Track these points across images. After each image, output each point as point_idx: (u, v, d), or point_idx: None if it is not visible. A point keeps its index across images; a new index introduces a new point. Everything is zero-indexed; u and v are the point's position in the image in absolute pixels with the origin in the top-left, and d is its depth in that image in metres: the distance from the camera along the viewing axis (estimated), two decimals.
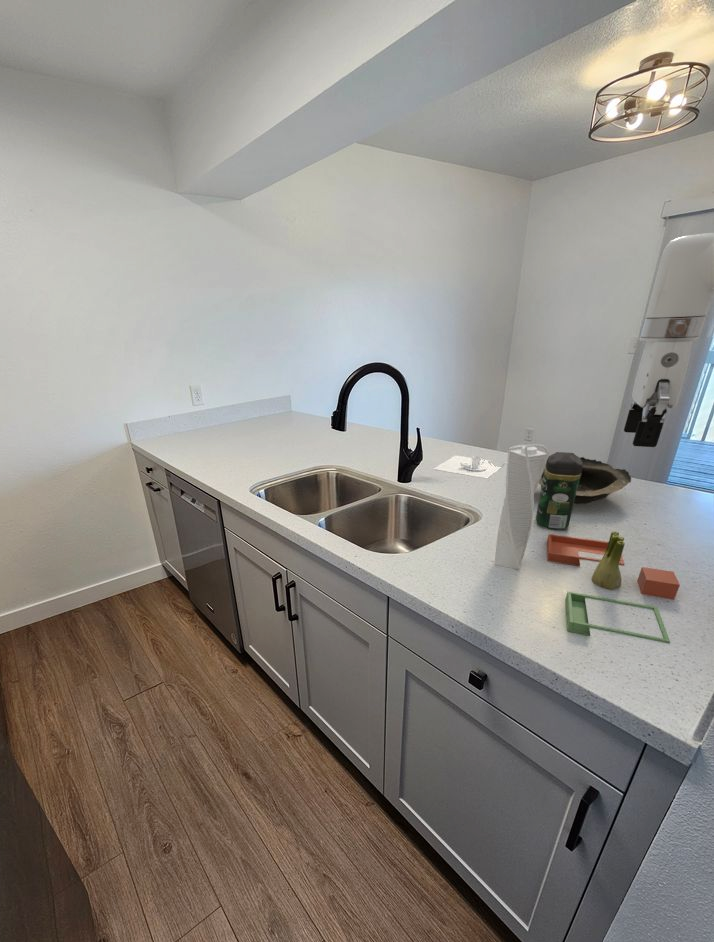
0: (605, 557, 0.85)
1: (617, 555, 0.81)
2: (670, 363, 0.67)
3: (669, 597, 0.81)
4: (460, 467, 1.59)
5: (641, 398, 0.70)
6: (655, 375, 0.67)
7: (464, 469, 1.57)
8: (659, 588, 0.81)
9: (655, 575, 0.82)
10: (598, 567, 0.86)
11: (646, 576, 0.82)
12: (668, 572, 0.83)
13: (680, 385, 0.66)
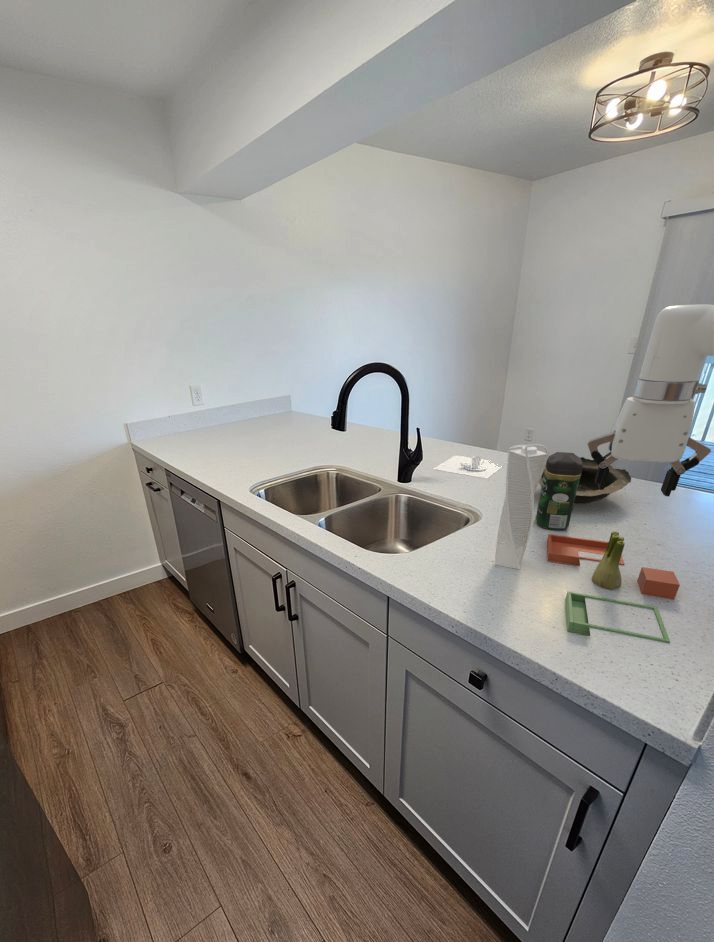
0: (605, 557, 0.85)
1: (617, 555, 0.81)
2: None
3: (669, 597, 0.81)
4: (460, 467, 1.59)
5: (677, 455, 0.71)
6: (689, 432, 0.70)
7: (464, 469, 1.57)
8: (659, 588, 0.81)
9: (655, 575, 0.82)
10: (598, 567, 0.86)
11: (646, 576, 0.82)
12: (668, 572, 0.83)
13: None
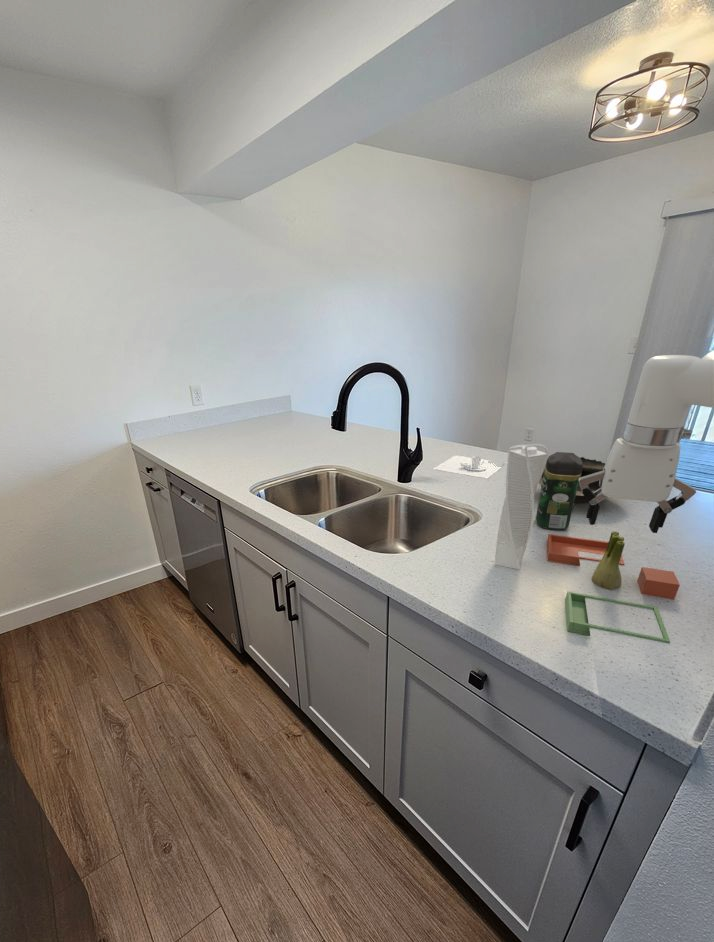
0: (605, 557, 0.85)
1: (617, 555, 0.81)
2: None
3: (669, 597, 0.81)
4: (460, 467, 1.59)
5: (664, 495, 0.74)
6: (675, 474, 0.73)
7: (464, 469, 1.57)
8: (659, 588, 0.81)
9: (655, 575, 0.82)
10: (598, 567, 0.86)
11: (646, 576, 0.82)
12: (668, 572, 0.83)
13: None
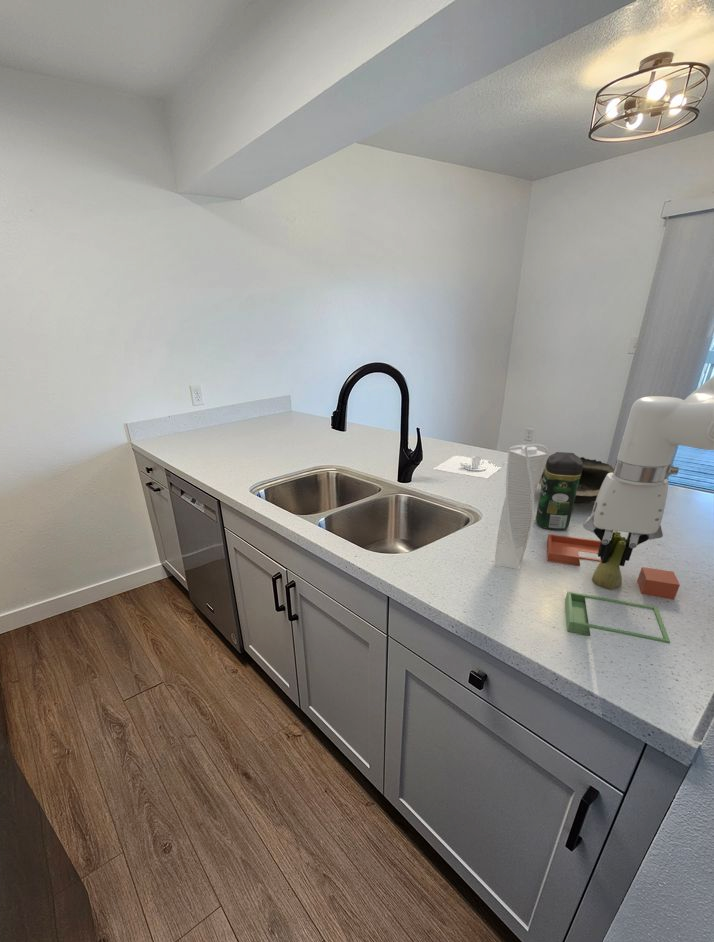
0: None
1: (618, 555, 0.81)
2: None
3: (669, 597, 0.81)
4: (460, 467, 1.59)
5: (653, 528, 0.77)
6: None
7: (464, 469, 1.57)
8: (659, 588, 0.81)
9: (655, 575, 0.82)
10: (599, 567, 0.86)
11: (646, 576, 0.82)
12: (668, 572, 0.83)
13: None
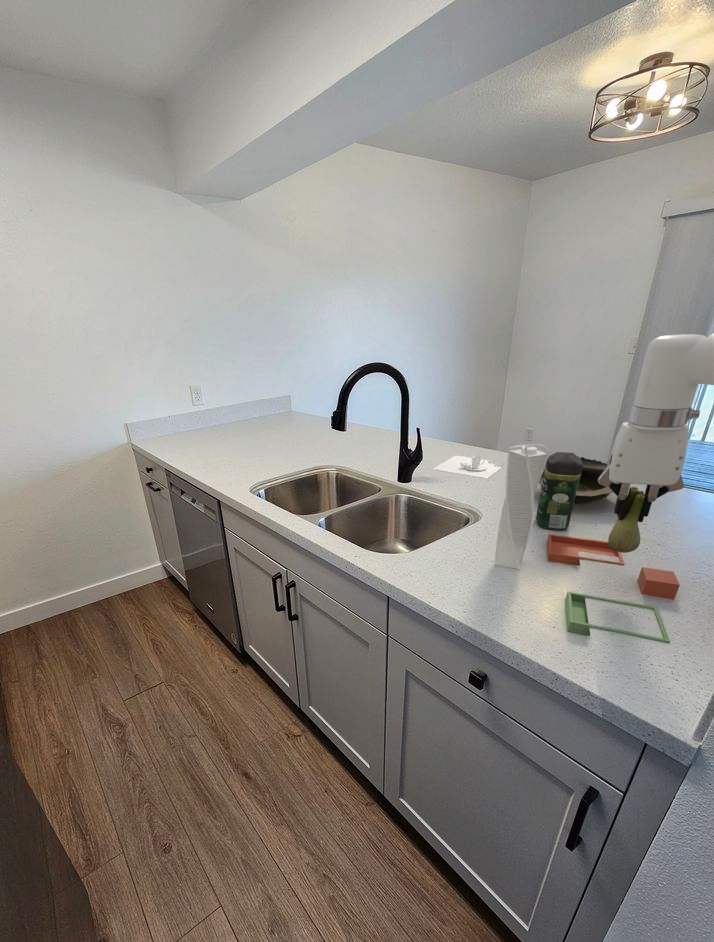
0: None
1: (636, 510, 0.77)
2: None
3: (669, 597, 0.81)
4: (460, 467, 1.59)
5: (674, 478, 0.73)
6: None
7: (464, 469, 1.57)
8: (659, 588, 0.81)
9: (655, 575, 0.82)
10: (615, 525, 0.81)
11: (646, 576, 0.82)
12: (668, 572, 0.83)
13: None
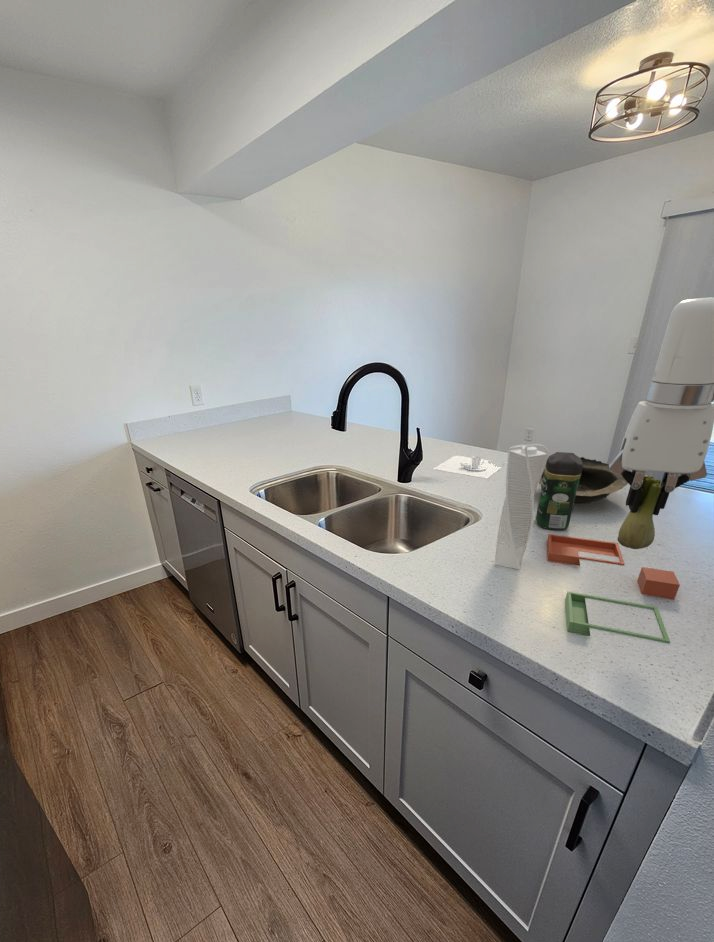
0: None
1: (652, 501, 0.68)
2: None
3: (669, 597, 0.81)
4: (460, 467, 1.59)
5: (696, 465, 0.64)
6: None
7: (464, 469, 1.57)
8: (659, 588, 0.81)
9: (655, 575, 0.82)
10: (627, 518, 0.73)
11: (646, 576, 0.82)
12: (668, 572, 0.83)
13: None
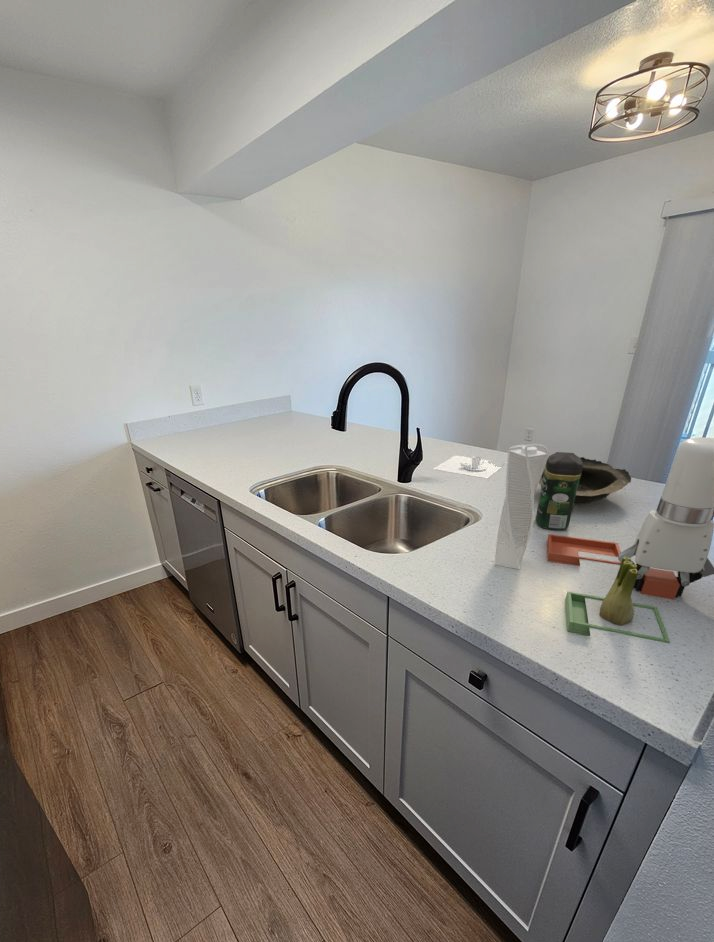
0: (615, 586, 0.75)
1: (629, 585, 0.72)
2: None
3: (669, 597, 0.81)
4: (460, 467, 1.59)
5: (698, 567, 0.77)
6: None
7: (464, 469, 1.57)
8: (659, 588, 0.81)
9: (655, 575, 0.82)
10: (607, 597, 0.76)
11: (646, 576, 0.82)
12: (668, 572, 0.83)
13: None
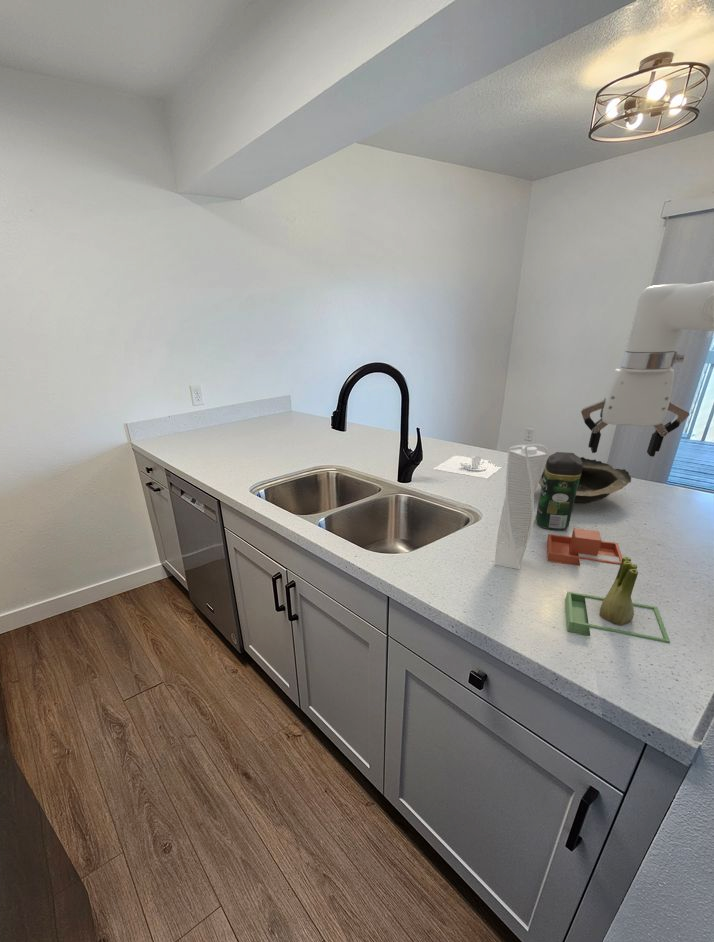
0: (615, 586, 0.75)
1: (629, 585, 0.72)
2: None
3: (594, 551, 0.95)
4: (460, 467, 1.59)
5: (660, 418, 0.81)
6: (670, 397, 0.79)
7: (464, 469, 1.57)
8: (585, 544, 0.95)
9: (583, 534, 0.97)
10: (607, 597, 0.76)
11: (575, 534, 0.97)
12: (594, 531, 0.98)
13: None
